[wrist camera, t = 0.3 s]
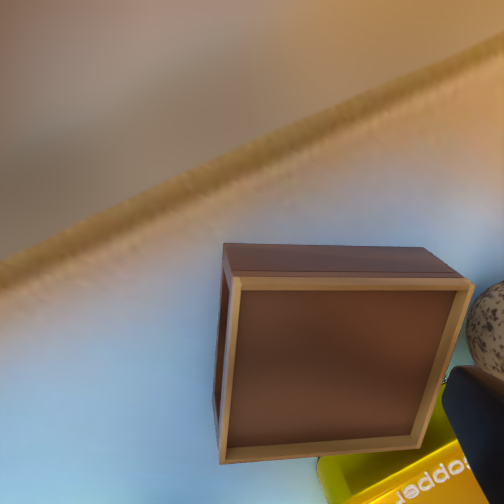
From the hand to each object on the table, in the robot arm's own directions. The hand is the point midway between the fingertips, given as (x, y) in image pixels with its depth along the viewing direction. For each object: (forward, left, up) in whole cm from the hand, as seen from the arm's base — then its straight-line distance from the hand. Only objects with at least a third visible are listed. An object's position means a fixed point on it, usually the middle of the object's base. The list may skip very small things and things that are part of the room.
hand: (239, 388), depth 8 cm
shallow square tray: (-9, -7, -15) cm, 19 cm away
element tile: (-22, -19, -15) cm, 33 cm away
